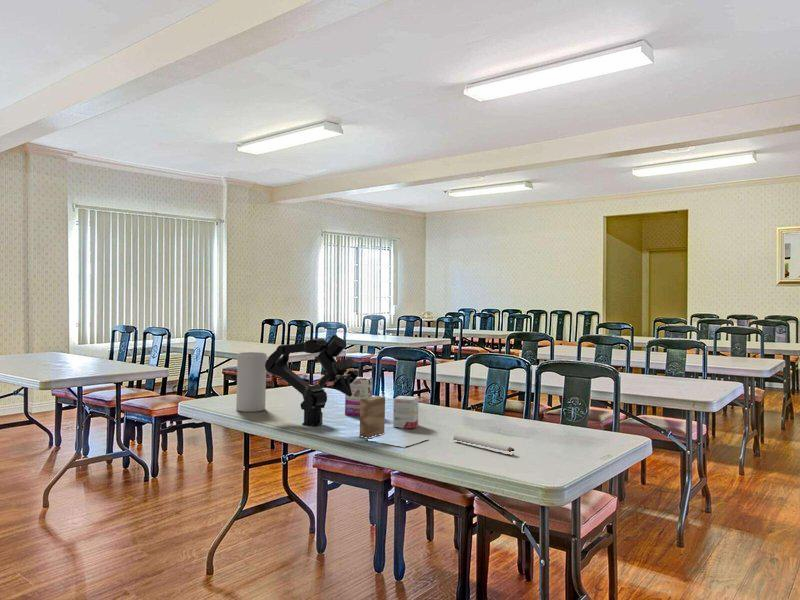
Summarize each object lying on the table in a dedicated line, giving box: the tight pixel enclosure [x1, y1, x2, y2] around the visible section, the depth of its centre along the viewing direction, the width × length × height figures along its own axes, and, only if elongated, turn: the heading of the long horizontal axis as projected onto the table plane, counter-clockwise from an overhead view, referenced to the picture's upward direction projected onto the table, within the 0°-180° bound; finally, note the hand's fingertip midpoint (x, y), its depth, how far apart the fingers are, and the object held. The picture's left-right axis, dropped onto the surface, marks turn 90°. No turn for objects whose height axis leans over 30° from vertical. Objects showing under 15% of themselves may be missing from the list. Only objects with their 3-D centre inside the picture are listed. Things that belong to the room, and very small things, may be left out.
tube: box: [453, 433, 515, 452], centre depth 213 cm, size 3×3×25 cm
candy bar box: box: [344, 376, 374, 417], centre depth 266 cm, size 11×5×16 cm, turn 76°
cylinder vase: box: [235, 351, 268, 413], centre depth 272 cm, size 12×12×25 cm
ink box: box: [392, 395, 419, 429], centre depth 246 cm, size 9×9×12 cm
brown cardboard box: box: [359, 395, 386, 439], centre depth 228 cm, size 4×10×14 cm, turn 145°
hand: (351, 395), depth 234 cm, fingers closed
